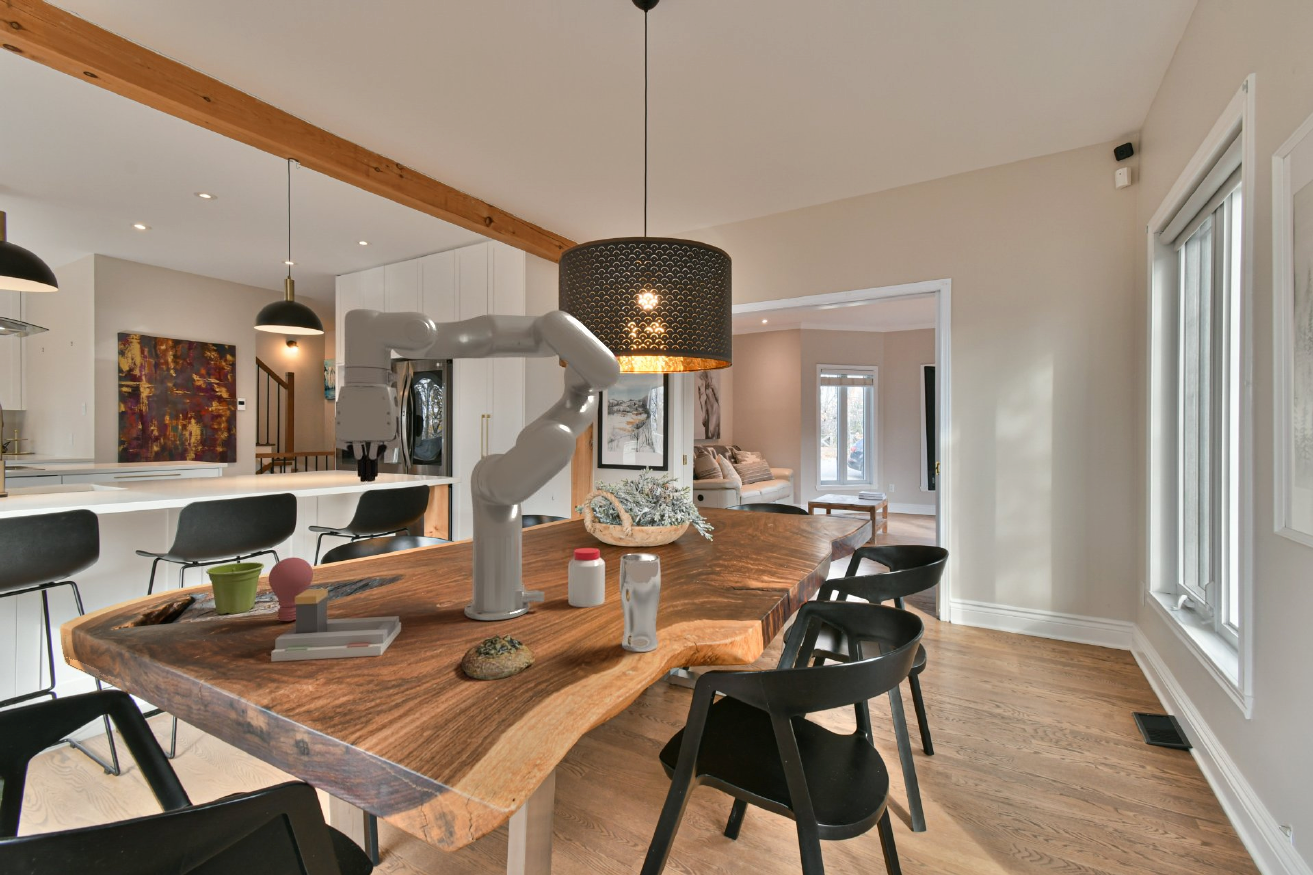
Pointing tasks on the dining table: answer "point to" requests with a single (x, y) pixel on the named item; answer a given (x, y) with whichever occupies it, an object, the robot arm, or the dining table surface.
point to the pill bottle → (586, 578)
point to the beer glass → (640, 600)
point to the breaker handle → (311, 611)
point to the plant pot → (235, 586)
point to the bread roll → (496, 658)
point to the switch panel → (334, 651)
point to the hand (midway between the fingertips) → (367, 481)
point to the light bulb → (289, 584)
